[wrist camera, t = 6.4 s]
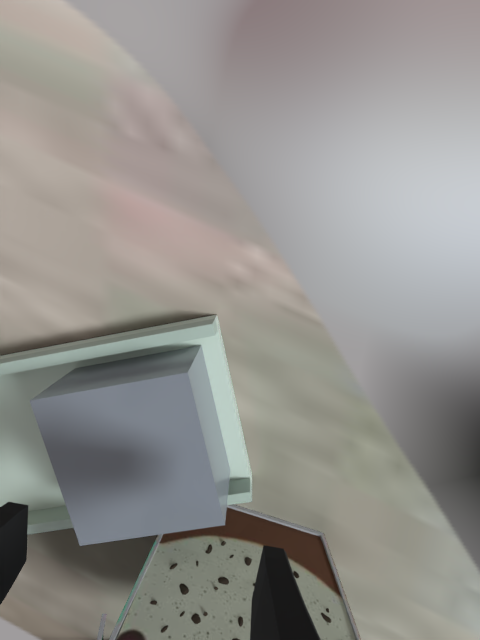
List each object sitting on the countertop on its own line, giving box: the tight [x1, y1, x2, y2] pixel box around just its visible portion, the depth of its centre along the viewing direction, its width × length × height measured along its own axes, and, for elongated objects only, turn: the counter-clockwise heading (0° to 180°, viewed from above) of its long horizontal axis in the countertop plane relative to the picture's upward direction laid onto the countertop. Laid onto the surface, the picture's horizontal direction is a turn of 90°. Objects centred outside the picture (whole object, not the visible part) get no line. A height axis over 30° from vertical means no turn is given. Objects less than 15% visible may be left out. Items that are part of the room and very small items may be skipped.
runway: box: [0, 315, 252, 535], centre depth 20 cm, size 10×20×2 cm, turn 101°
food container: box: [97, 504, 361, 640], centre depth 18 cm, size 12×6×10 cm, turn 71°
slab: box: [30, 345, 230, 546], centre depth 18 cm, size 8×7×4 cm
